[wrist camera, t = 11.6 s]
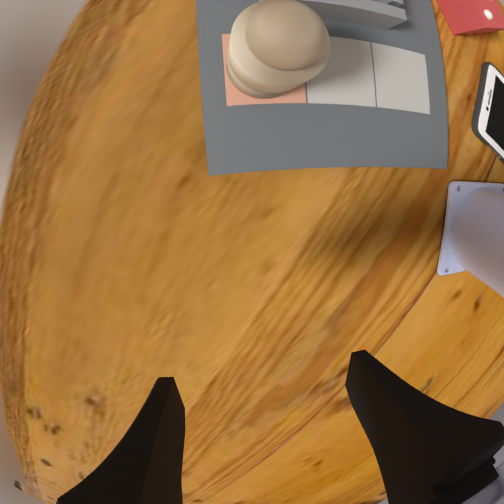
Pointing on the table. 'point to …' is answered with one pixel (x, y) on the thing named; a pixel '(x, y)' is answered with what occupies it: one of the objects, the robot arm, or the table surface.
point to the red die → (472, 16)
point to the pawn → (276, 48)
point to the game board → (332, 93)
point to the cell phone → (490, 109)
